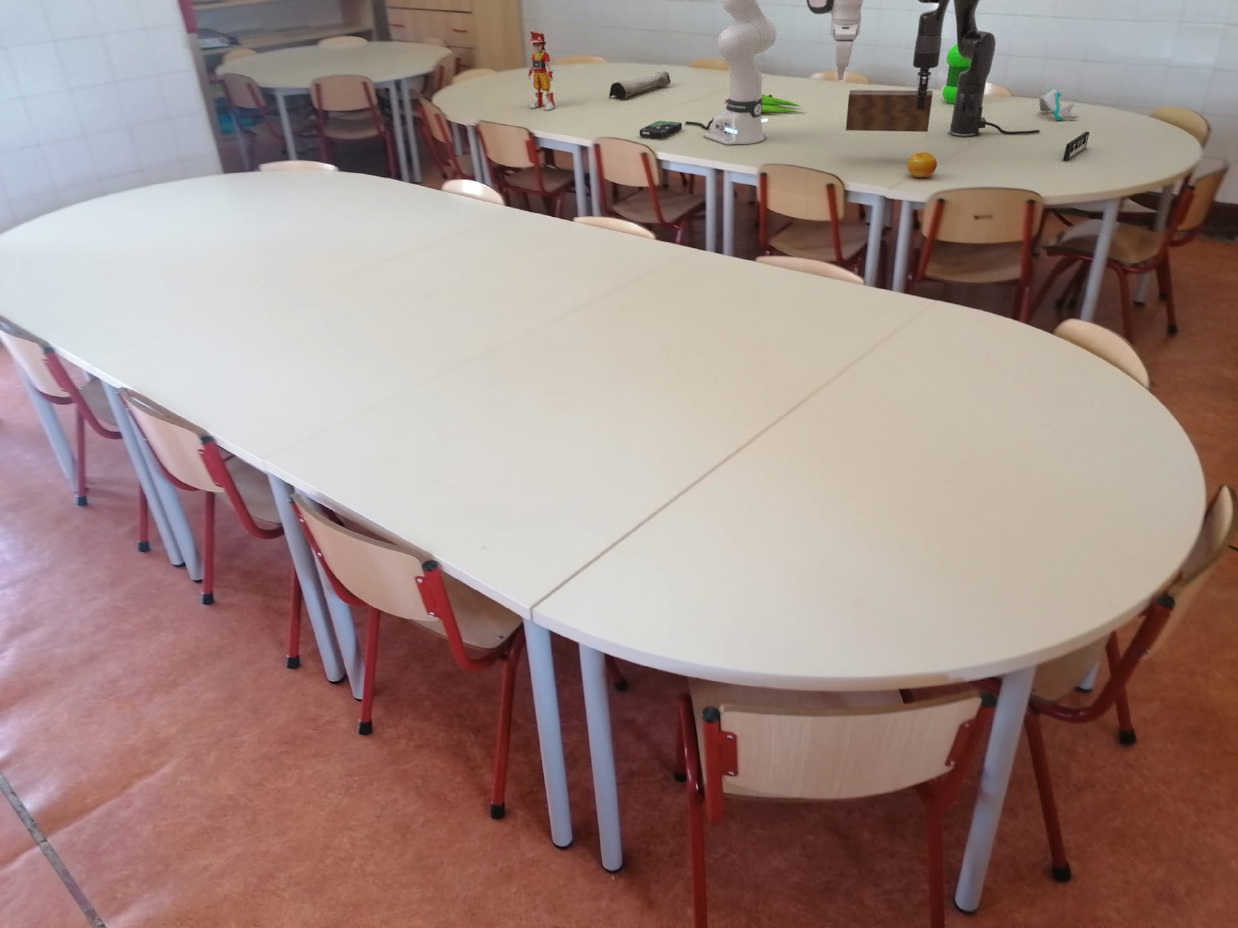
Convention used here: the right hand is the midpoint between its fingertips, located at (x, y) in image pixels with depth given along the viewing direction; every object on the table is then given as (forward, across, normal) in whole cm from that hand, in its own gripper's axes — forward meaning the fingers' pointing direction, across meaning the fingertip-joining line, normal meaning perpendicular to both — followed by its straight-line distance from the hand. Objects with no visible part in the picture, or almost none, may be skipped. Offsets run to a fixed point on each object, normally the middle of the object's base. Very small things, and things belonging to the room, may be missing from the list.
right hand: (920, 106), depth 285 cm
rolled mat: (+17, +93, +117) cm, 150 cm away
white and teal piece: (+18, +61, -49) cm, 80 cm away
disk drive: (+17, +27, +92) cm, 97 cm away
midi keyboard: (+18, +13, -50) cm, 55 cm away
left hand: (-10, -2, +26) cm, 27 cm away
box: (+7, 0, +10) cm, 12 cm away
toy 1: (+17, +64, +153) cm, 166 cm away
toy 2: (+17, +64, +57) cm, 88 cm away
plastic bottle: (+18, +81, -14) cm, 84 cm away
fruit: (+17, -15, -2) cm, 23 cm away
